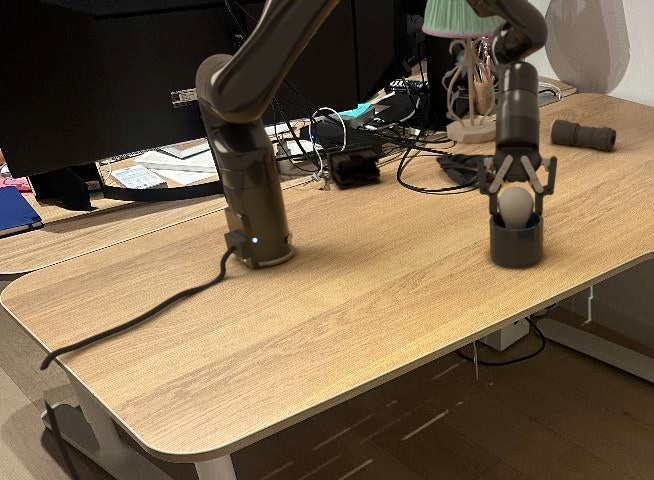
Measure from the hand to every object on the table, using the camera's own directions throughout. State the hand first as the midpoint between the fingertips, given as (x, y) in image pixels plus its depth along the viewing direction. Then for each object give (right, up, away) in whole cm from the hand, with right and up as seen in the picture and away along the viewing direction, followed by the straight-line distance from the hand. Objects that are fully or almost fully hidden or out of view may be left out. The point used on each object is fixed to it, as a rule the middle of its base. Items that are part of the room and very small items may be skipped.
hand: (515, 216), depth 126 cm
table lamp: (-9, +34, +62) cm, 71 cm away
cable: (-8, +18, +39) cm, 44 cm away
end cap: (-34, +16, +37) cm, 53 cm away
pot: (0, -6, +6) cm, 8 cm away
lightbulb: (0, -4, +5) cm, 7 cm away
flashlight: (+17, +29, +53) cm, 63 cm away
